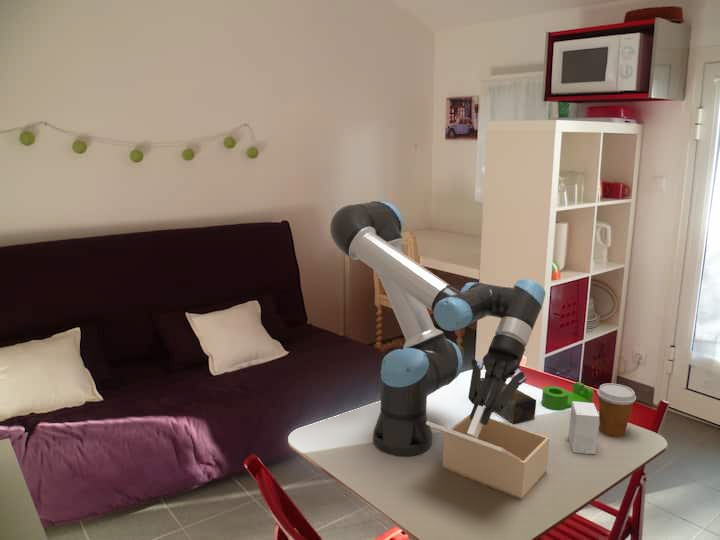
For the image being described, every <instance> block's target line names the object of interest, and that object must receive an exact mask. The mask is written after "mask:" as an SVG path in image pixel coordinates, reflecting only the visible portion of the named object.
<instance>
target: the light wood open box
mask: <svg viewBox="0 0 720 540" xmlns="http://www.w3.org/2000/svg"><path fill="white" fill-rule="evenodd" d="M471 422H472V420H471V419H470V414H469V415H467V416H466V417H465V418H463V419H461V421H459V422H458V423H457V424H455V425H454V426H453V427H450V429H451V430H454V431H457V432H459V433H462V434H465V435H468V436H469V434H468V433H467V432H468V429H469V427H470V424H471ZM477 439H479V440H482V441H485V442H487V443H490V444H493V445H496V446H499V447H501V448H504V449H506V450H507V451H509V452H510V453H512V454H514V455H516V456H517V457H519V458H521V460H520V461H518V460H515V459H512V458H510V457H507V456H504V455H501V454H499V453H496V452H493V451H490V450H488V449H485V448H482V447H479V446H477V445H474V444H471V443H468V442H466V441H463V440H460V439H458V438H455V437H452V436H449V435H447V434H445V433H443V445H442V466H441V467H442V469H444V470H447V471H449V472H451V473H454V474H457V475H458V476H461V477H463V478H466V479H468V480H470V481H473V482H476V483H479V484H481V485H484V486H486V487H489V488H491V489H494V490H496V491H499V492H500V493H504V495H505V494H506V495H508V496H511V497H513V498H516V499H518V500H520V501H522V500H523V499H524V498H525V497H527V495H528V493H530V491H531V490H532V489H533V488H534V487H535V485H537V484H538V483H539V482H540V480H541V479H542V478H543V477H544V476H545V475H546V473H547V469H548V460H549V459H548V458H549V447H550V437H548V436H545V435H543V434H539V433H536V432H533V431H529V430H526V429H524V428H521V427H518V426H515V425H512V424H509V423H505V422H503V421H499V420H496V419H493V418H491V417H490V419H489V421H488V424H487V425H483V426H482V428H481V431H480V433H479V436H478V438H477Z"/></svg>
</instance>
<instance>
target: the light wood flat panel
mask: <svg viewBox="0 0 720 540" xmlns="http://www.w3.org/2000/svg"><path fill="white" fill-rule="evenodd" d="M426 424H427V425H429V426H430V428H434V429H436V430H437V431H440V432H441V433H443V434H444V433H445V434H447V435H449V436H452V437H455V438H458V439H460V440H463V441H466V442H468V443H471V444H474V445H477V446H479V447H482V448H485V449H488V450H490V451H493V452H496V453H499V454H501V455H504V456H507V457H510V458H512V459H515V460H518V461H520V460H521V458H519V457H517V456H516V455H514V454H512V453H510V452H509V451H507V450H506V449H504V448H501V447H499V446H496V445H493V444H490V443H487V442H485V441H482V440H479V439H476V438H473V437H471V436H468V435H465V434H462V433H459V432H457V431H454V430H451V428H448V427H445V426H444V425H443V426H442V425H440V424H436V423H434V422H431V421H429V420H428V421H427V422H426Z"/></svg>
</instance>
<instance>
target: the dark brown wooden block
mask: <svg viewBox="0 0 720 540" xmlns="http://www.w3.org/2000/svg"><path fill="white" fill-rule="evenodd" d="M484 378H485V377H480V384H479V390H480V387H481V385H482V382H483V380H484ZM494 382H495V381H494ZM494 382H493V383H492V386H491V388H490V391H489V393H488V396H487V398H486V401H485V404H486V402H487V400H488V397H489V395H490V392H491V390H492V387H493V385H494ZM508 384H509V383H507V382H506V383H505V385H504V386H503V388H502V390H501V393H500V395H501V394H502V392H503V391H504V389H505V388H506V386H507V385H508ZM479 390H478V392H479ZM499 397H500V396H499ZM536 407H537V400H536V399H535V398H534V397H531V396H530V395H527V394H526V393H524V392H522V391H520V390H519V389H517V390H516V391H515V393H514V394H513V396H512V397H511V399H510V400H509V401H508V403H507V404H506V406H505V407H504V409H503V410H502V411H501V412H498V411H494V412H495V413H497V414H498V415H500V416H501V417H503V418H504V419H506V420H508V421H509V422H511V424H518V423H522V422H527V421H528V422H529V421H532V420H535V418H536V417H535V416H536Z"/></svg>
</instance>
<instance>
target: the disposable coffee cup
mask: <svg viewBox="0 0 720 540" xmlns="http://www.w3.org/2000/svg"><path fill="white" fill-rule="evenodd" d="M596 392H597V395H598V414H599V431H600V432H601V433H602V434H604V435H606V436H609V437H614V438H618V437H619V438H621V437H624V436H625V434H626V432H627V431H626V430H627V426H628V423H629V421H630V420H629V419H630V416H631V412H632V409H633V405H634V403H635V401H636V400H637V396H636V394H635V393H636V392H635V391H634V390H633V388H631V387H629V386H627V385H623V384H619V383H611V382H610V383H603V384H600V385H599V387H598V389H597V391H596Z"/></svg>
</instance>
